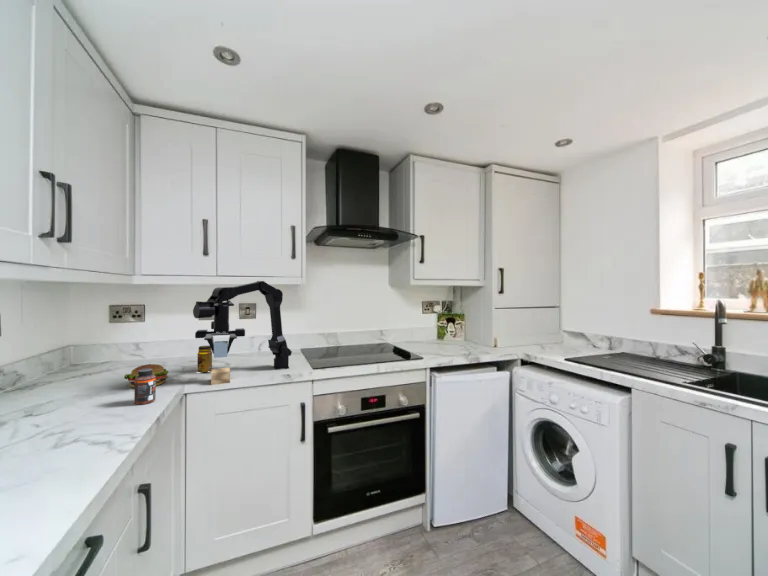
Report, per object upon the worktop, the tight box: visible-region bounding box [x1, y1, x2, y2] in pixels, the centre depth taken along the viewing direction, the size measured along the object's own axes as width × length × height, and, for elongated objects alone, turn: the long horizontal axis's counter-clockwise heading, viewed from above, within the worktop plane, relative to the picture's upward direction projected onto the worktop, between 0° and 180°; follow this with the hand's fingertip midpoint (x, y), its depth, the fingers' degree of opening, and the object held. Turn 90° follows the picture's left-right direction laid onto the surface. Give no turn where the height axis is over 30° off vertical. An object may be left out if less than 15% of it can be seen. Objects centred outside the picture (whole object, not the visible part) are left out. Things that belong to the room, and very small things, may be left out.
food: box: [123, 363, 169, 389], centre depth 132 cm, size 14×14×8 cm
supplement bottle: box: [133, 369, 157, 406], centre depth 112 cm, size 6×6×11 cm
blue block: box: [213, 340, 229, 359], centre depth 136 cm, size 5×5×6 cm
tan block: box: [210, 367, 231, 386], centre depth 136 cm, size 7×7×5 cm
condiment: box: [196, 345, 213, 372], centre depth 153 cm, size 7×8×12 cm
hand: (220, 353), depth 136 cm, fingers closed on blue block, 5 cm apart
